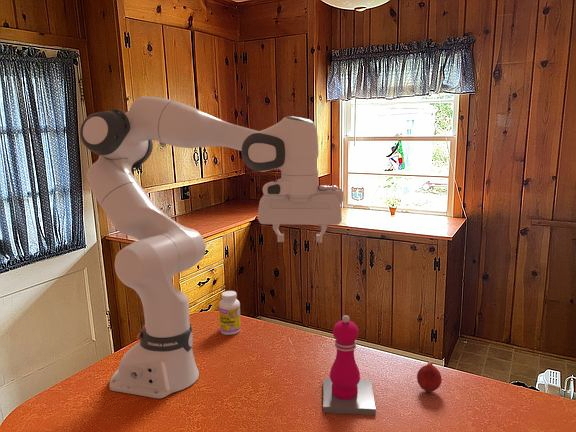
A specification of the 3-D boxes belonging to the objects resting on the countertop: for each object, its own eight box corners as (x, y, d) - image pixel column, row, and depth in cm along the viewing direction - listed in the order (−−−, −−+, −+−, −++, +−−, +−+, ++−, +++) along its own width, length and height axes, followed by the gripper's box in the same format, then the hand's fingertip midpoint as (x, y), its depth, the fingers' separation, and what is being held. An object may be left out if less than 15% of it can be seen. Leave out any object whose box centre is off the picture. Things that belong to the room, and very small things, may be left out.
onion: (441, 400, 111) (443, 369, 109) (417, 397, 112) (418, 367, 110) (439, 386, 116) (441, 357, 114) (415, 384, 117) (417, 355, 116)
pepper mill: (340, 404, 107) (341, 324, 102) (324, 388, 113) (324, 313, 109) (365, 395, 110) (367, 318, 106) (348, 381, 116) (349, 307, 112)
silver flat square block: (323, 412, 106) (323, 406, 106) (323, 383, 118) (323, 378, 118) (375, 414, 105) (375, 409, 105) (370, 385, 117) (370, 379, 117)
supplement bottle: (216, 334, 145) (215, 296, 142) (224, 325, 151) (222, 288, 149) (236, 336, 144) (235, 298, 141) (243, 327, 150) (242, 290, 147)
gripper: (343, 184, 112) (342, 238, 115) (259, 183, 114) (261, 237, 116) (344, 187, 106) (343, 245, 109) (256, 187, 107) (257, 244, 110)
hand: (299, 241), depth 113 cm, fingers open, 8 cm apart
